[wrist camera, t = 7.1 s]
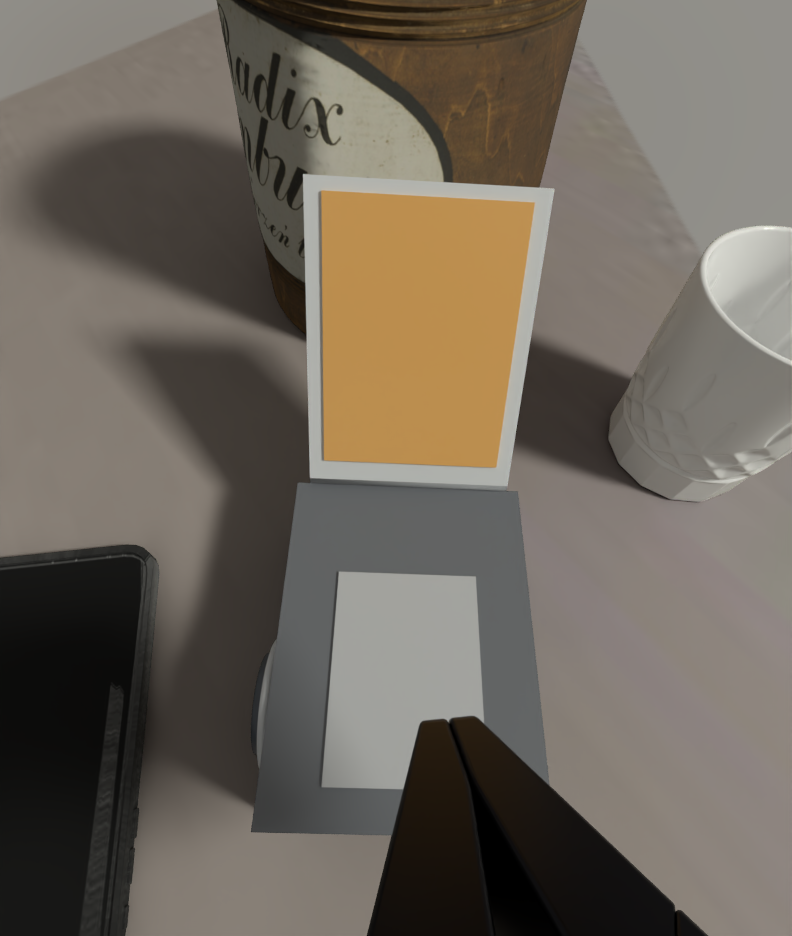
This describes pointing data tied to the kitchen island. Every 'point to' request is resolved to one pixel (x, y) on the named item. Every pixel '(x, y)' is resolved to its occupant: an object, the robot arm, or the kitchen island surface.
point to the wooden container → (390, 100)
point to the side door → (418, 327)
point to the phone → (72, 735)
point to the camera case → (389, 649)
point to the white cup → (715, 374)
